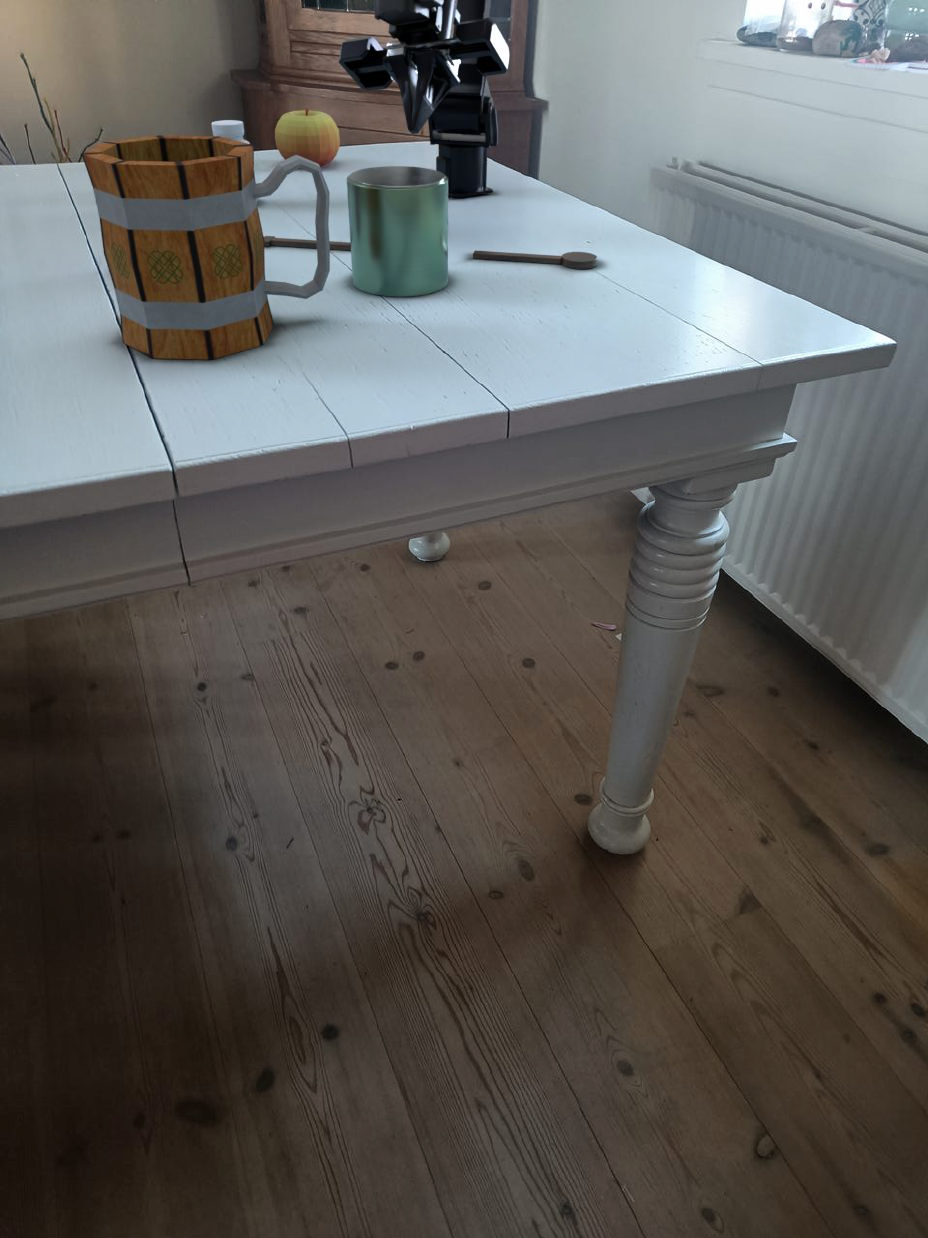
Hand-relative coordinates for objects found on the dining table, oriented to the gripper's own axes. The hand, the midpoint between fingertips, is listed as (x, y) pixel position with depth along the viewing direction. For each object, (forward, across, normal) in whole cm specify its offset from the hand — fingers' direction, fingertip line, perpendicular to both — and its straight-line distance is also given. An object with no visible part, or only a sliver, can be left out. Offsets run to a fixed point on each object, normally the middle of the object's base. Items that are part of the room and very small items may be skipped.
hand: (412, 131), depth 99 cm
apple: (-14, -36, +30) cm, 49 cm away
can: (+19, +4, -4) cm, 19 cm away
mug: (+29, -3, -21) cm, 36 cm away
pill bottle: (+2, -31, +9) cm, 33 cm away
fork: (+12, -13, 0) cm, 18 cm away
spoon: (+12, +14, +7) cm, 19 cm away
